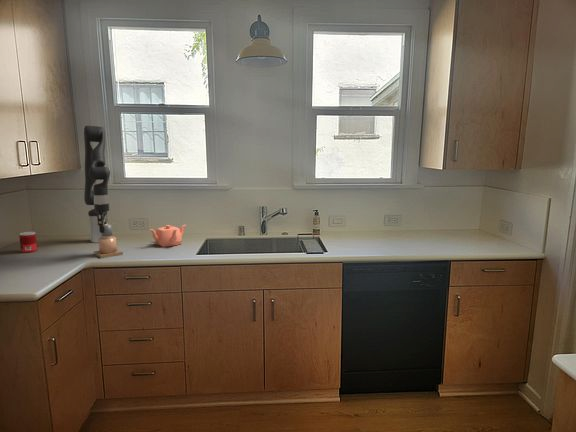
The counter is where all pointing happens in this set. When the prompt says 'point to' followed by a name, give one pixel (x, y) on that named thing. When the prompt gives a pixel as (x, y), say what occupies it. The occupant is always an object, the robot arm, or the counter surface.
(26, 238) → the canned food
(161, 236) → the pot
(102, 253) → the canister
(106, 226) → the cap
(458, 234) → the counter surface
